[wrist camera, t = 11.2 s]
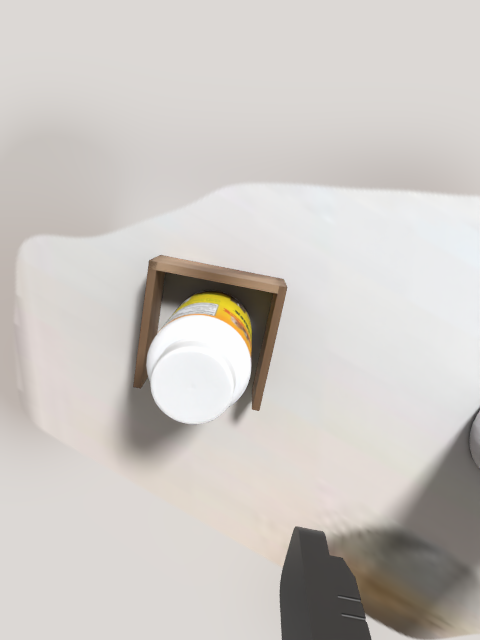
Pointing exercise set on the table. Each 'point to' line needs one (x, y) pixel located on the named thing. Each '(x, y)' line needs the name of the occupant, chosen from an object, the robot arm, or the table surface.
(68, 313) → the table surface
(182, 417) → the supplement bottle
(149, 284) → the walnut u rest
